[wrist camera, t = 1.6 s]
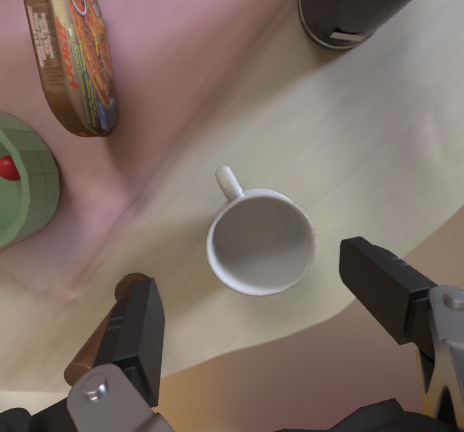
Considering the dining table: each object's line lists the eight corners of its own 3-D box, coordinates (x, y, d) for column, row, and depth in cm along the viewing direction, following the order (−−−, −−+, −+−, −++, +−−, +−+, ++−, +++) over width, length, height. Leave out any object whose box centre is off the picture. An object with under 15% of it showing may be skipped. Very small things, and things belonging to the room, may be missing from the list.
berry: (12, 151, 30) (-9, 151, 27) (37, 161, 30) (18, 161, 28) (8, 174, 31) (-14, 176, 28) (31, 183, 31) (12, 186, 28)
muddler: (124, 267, 34) (55, 341, 21) (161, 280, 35) (117, 361, 21) (113, 299, 35) (40, 391, 22) (149, 312, 36) (100, 408, 22)
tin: (122, 139, 31) (83, 133, 22) (95, 141, 31) (46, 135, 22) (100, -11, 27) (45, -84, 19) (70, -10, 27) (2, -81, 19)
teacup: (304, 253, 34) (327, 282, 26) (225, 276, 35) (223, 311, 27) (278, 147, 31) (294, 144, 23) (191, 174, 32) (178, 180, 24)
